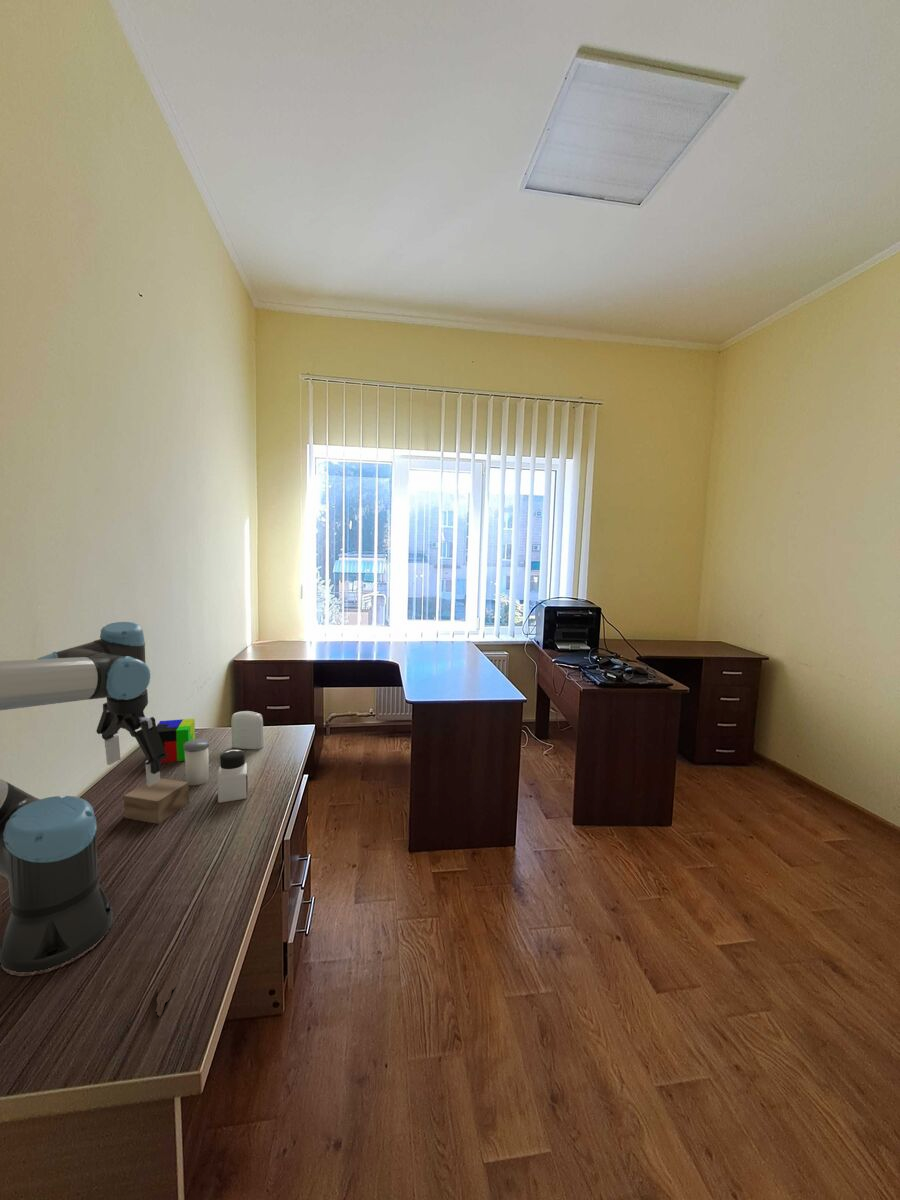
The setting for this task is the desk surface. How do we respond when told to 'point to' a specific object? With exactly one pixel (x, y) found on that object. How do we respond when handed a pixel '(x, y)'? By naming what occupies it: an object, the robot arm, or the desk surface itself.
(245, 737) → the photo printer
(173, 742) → the puzzle toy
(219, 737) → the desk surface
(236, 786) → the medicine bottle
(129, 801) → the walnut block
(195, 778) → the plastic jar
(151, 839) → the desk surface
